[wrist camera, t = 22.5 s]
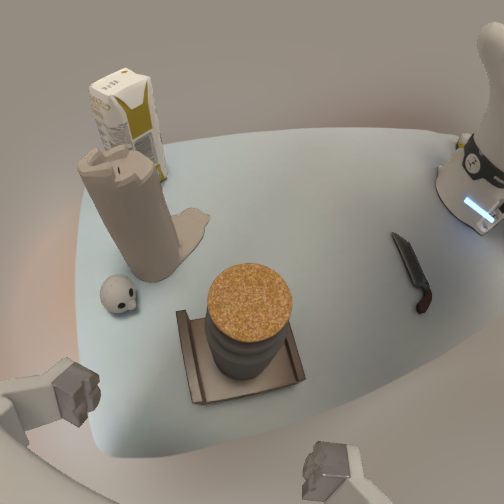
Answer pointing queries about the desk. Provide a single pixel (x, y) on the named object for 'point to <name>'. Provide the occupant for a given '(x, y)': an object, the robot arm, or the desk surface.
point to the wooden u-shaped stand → (221, 386)
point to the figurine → (118, 294)
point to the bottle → (247, 319)
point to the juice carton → (128, 115)
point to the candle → (139, 212)
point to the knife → (414, 271)
